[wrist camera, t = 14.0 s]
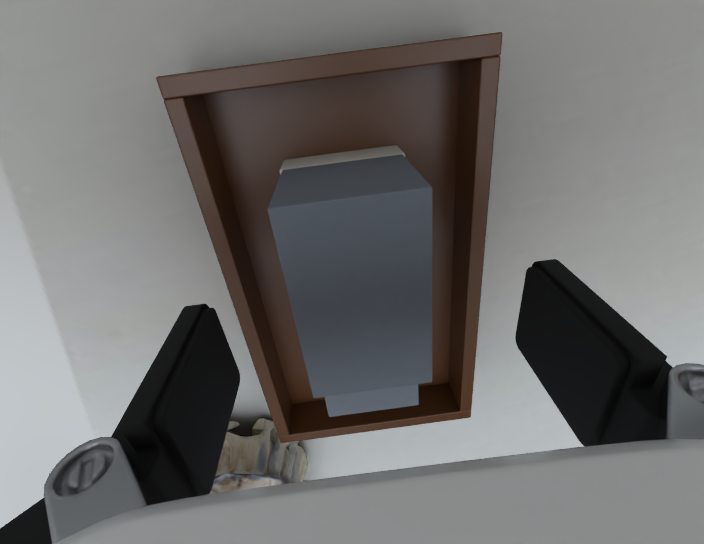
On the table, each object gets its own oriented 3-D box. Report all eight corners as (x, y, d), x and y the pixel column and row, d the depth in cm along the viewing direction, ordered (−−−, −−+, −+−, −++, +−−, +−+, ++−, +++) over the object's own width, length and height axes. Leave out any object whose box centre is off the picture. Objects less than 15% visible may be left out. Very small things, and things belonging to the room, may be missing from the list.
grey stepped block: (283, 159, 14) (262, 209, 9) (397, 144, 14) (437, 186, 9) (325, 367, 19) (326, 466, 15) (407, 356, 19) (435, 451, 15)
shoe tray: (184, 74, 13) (154, 77, 10) (471, 37, 13) (503, 31, 10) (284, 403, 21) (280, 443, 19) (455, 380, 21) (470, 417, 19)
